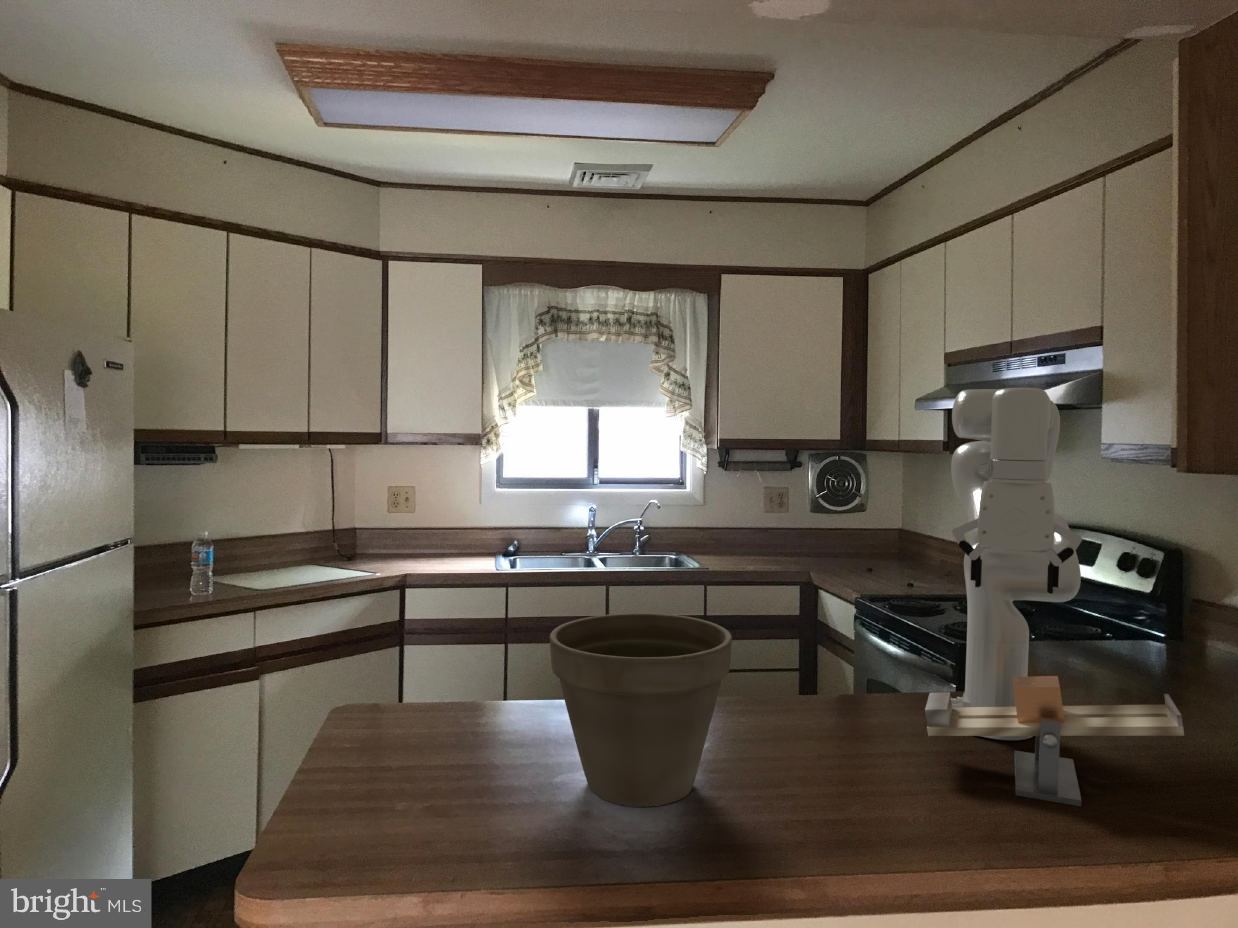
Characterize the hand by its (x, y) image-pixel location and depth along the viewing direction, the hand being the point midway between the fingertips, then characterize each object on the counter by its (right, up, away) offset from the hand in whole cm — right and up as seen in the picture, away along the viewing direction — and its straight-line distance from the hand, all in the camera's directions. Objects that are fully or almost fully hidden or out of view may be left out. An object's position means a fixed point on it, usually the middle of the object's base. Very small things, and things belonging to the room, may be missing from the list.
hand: (1013, 588), depth 128 cm
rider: (+3, -19, -2) cm, 19 cm away
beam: (+4, -19, -3) cm, 20 cm away
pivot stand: (+4, -27, -2) cm, 27 cm away
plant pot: (-55, -27, -7) cm, 62 cm away
